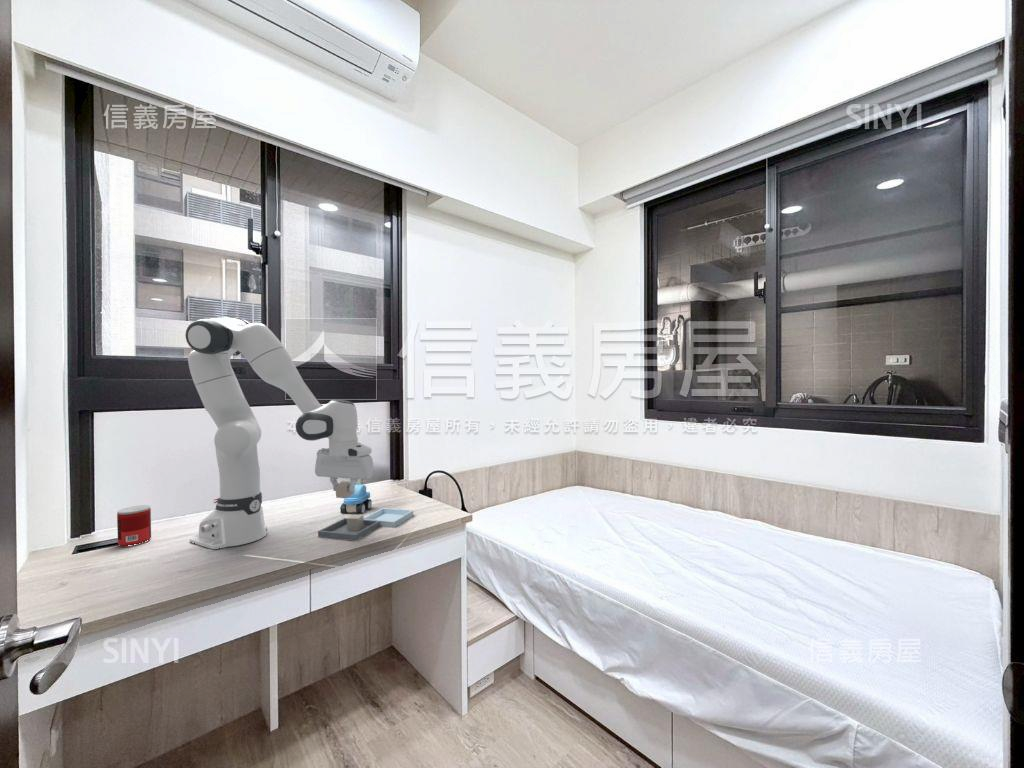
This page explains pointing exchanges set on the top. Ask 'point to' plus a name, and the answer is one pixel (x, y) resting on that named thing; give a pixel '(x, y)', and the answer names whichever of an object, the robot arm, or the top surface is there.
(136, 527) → the canned food
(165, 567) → the top surface
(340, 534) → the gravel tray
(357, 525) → the tan cube
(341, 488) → the grey cube
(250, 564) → the top surface
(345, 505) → the toy excavator
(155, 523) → the top surface
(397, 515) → the blue tray
